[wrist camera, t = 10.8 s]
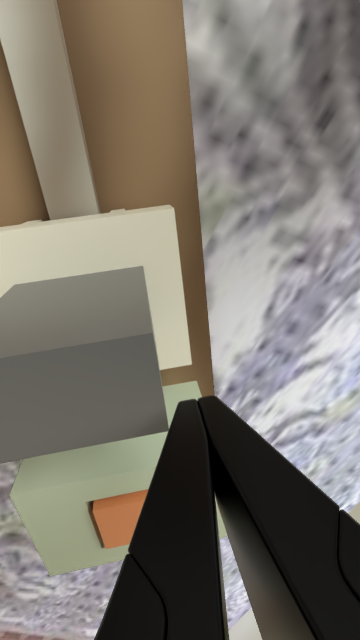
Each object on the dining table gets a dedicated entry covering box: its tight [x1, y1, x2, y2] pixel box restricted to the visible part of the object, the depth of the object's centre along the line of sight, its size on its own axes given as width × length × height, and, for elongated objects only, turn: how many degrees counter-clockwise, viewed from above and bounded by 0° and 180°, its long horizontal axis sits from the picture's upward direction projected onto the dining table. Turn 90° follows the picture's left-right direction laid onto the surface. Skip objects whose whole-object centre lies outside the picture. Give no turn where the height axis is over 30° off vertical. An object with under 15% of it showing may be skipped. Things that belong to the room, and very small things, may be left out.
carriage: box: [0, 205, 192, 463], centre depth 12 cm, size 8×7×8 cm
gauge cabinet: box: [9, 381, 227, 576], centre depth 17 cm, size 9×6×6 cm, turn 98°
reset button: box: [93, 489, 148, 549], centre depth 16 cm, size 3×3×4 cm
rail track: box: [0, 0, 214, 397], centre depth 16 cm, size 11×26×2 cm, turn 8°
